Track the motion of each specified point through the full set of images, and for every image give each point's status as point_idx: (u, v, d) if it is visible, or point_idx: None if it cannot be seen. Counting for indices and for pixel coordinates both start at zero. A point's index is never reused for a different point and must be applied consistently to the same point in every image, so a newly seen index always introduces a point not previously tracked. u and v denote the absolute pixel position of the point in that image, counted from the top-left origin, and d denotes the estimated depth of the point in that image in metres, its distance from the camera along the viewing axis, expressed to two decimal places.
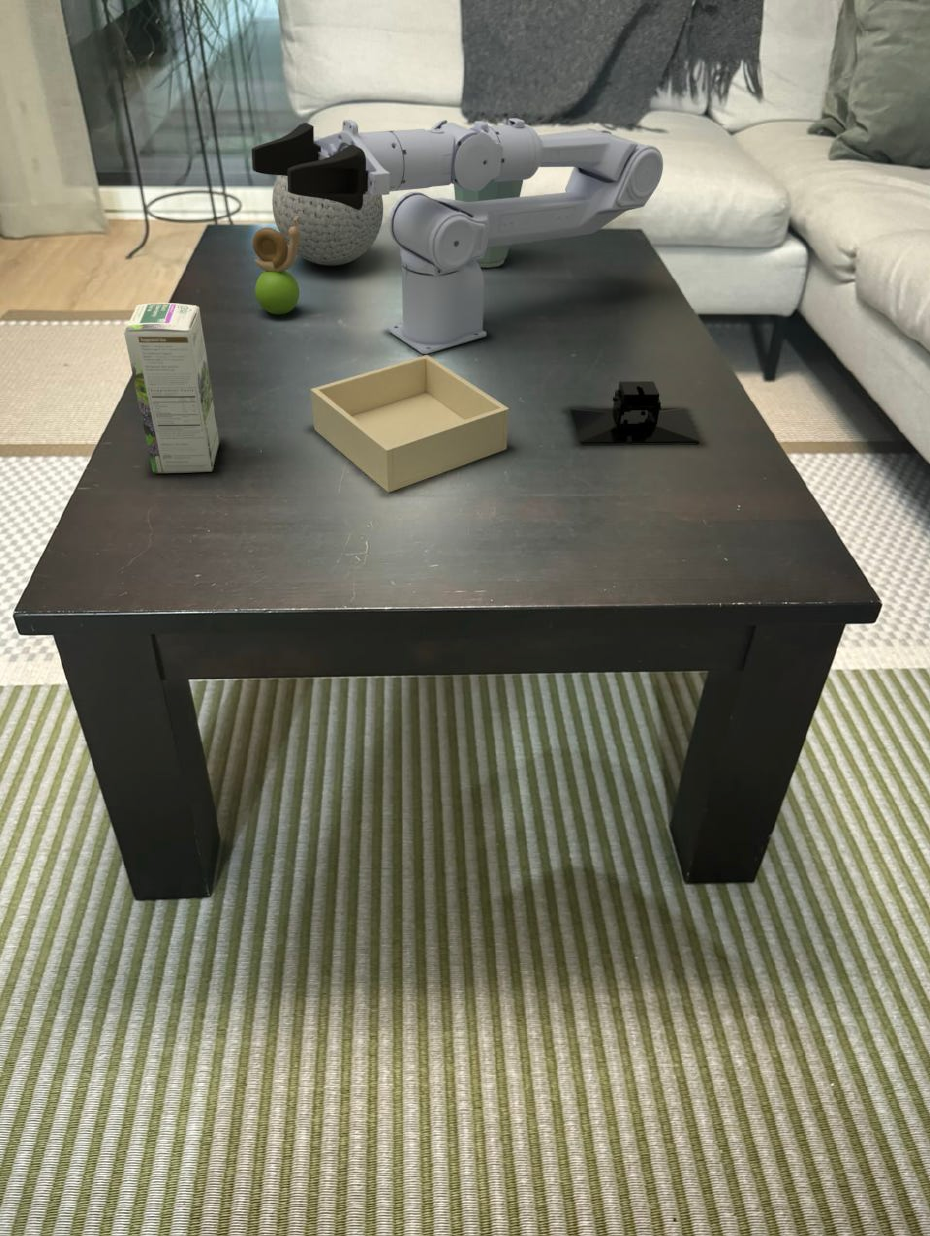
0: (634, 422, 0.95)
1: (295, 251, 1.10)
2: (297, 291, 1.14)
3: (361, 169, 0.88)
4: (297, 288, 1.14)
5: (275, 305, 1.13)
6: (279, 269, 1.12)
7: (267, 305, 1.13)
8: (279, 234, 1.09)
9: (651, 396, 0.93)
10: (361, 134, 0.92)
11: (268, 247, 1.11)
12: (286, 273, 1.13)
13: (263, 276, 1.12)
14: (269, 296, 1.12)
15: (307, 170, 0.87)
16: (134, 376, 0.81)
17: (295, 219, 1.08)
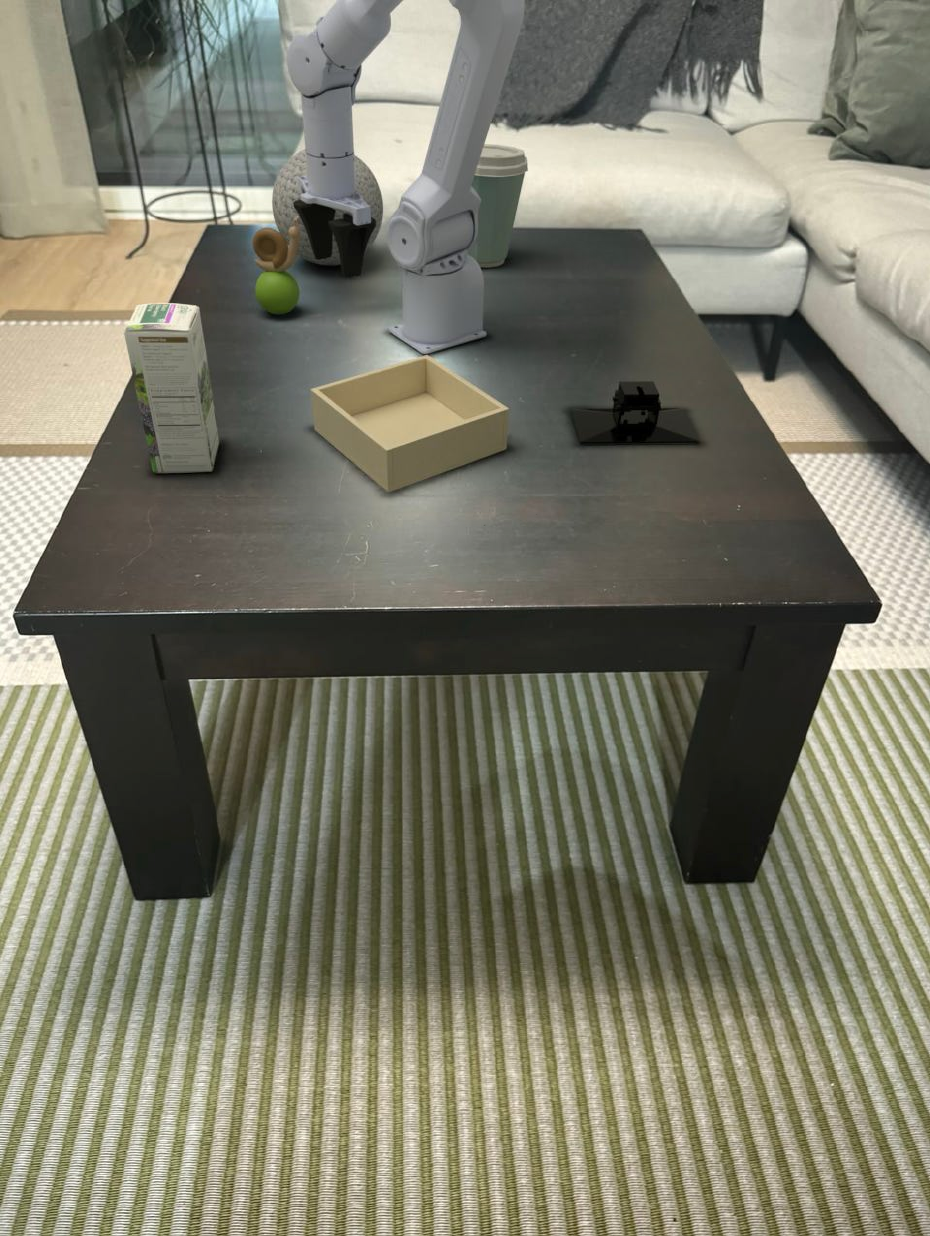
0: (634, 422, 0.95)
1: (295, 251, 1.10)
2: (297, 291, 1.14)
3: (350, 229, 1.09)
4: (297, 288, 1.14)
5: (275, 305, 1.13)
6: (279, 269, 1.12)
7: (267, 305, 1.13)
8: (279, 234, 1.09)
9: (651, 396, 0.93)
10: (312, 188, 1.09)
11: (268, 247, 1.11)
12: (286, 273, 1.13)
13: (263, 276, 1.12)
14: (269, 296, 1.12)
15: (346, 265, 1.13)
16: (134, 376, 0.81)
17: (295, 219, 1.08)
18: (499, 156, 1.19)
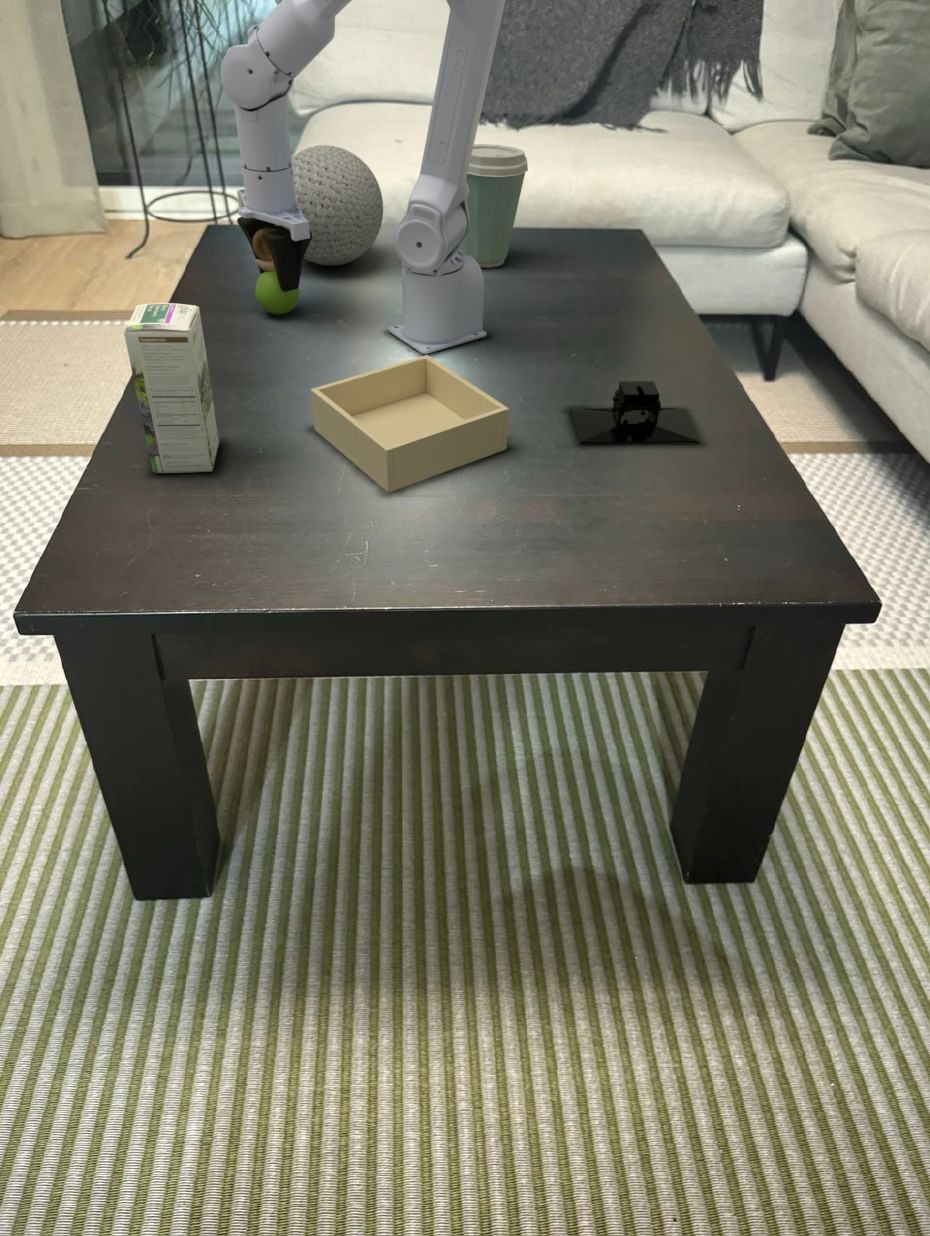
0: (634, 422, 0.95)
1: None
2: (297, 291, 1.14)
3: (284, 241, 1.06)
4: None
5: (275, 305, 1.13)
6: None
7: (267, 305, 1.13)
8: None
9: (651, 396, 0.93)
10: (250, 202, 1.06)
11: None
12: None
13: (263, 276, 1.12)
14: (269, 296, 1.12)
15: (283, 278, 1.10)
16: (134, 376, 0.81)
17: None
18: (499, 156, 1.19)
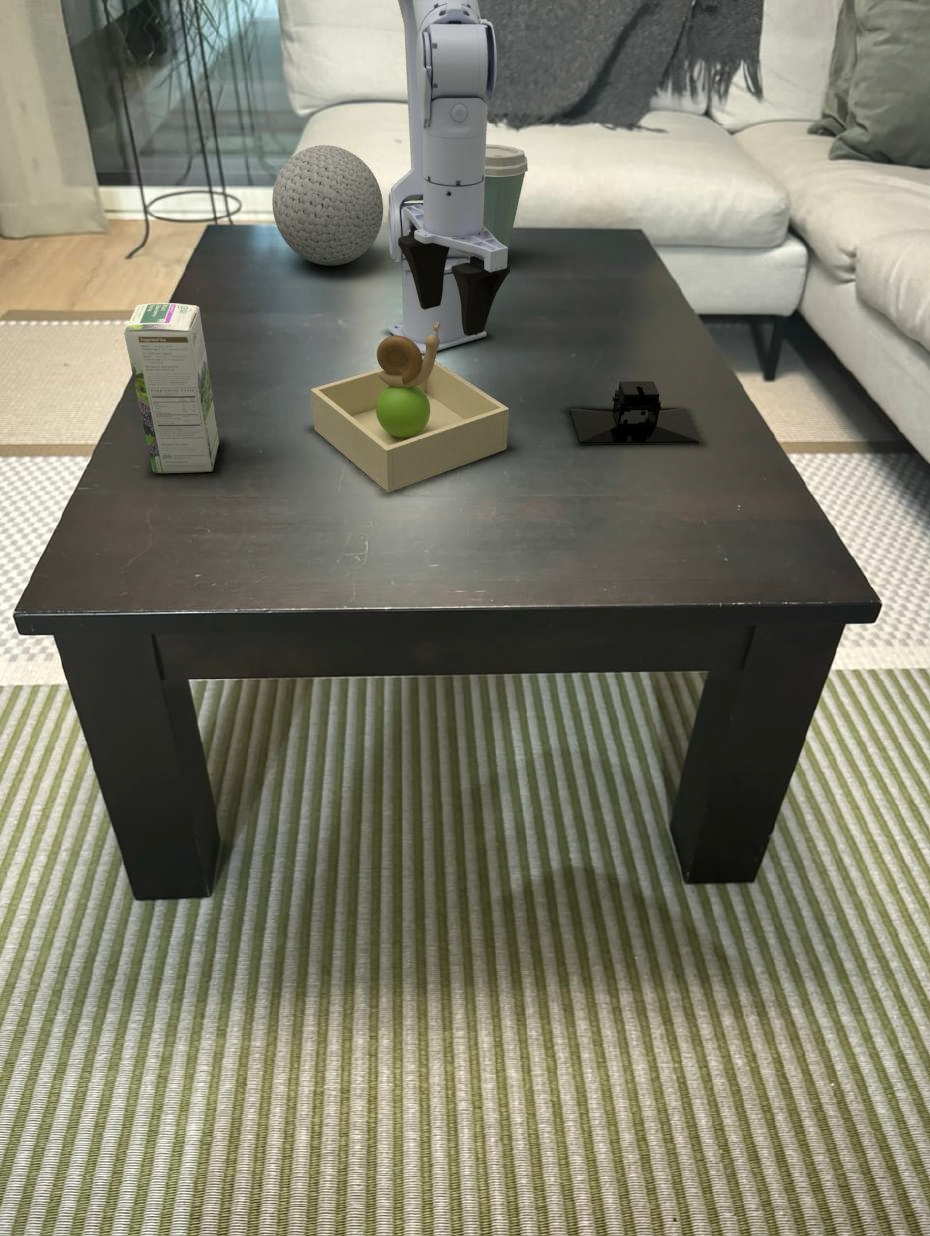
0: (634, 422, 0.95)
1: (431, 365, 0.87)
2: (429, 410, 0.91)
3: (480, 276, 0.85)
4: (429, 406, 0.91)
5: (402, 429, 0.90)
6: (409, 385, 0.89)
7: (392, 429, 0.90)
8: (412, 344, 0.86)
9: (651, 396, 0.93)
10: (430, 224, 0.85)
11: (397, 359, 0.88)
12: (416, 388, 0.90)
13: (389, 393, 0.89)
14: (397, 419, 0.89)
15: (469, 320, 0.89)
16: (134, 376, 0.81)
17: (436, 327, 0.84)
18: (499, 156, 1.19)
